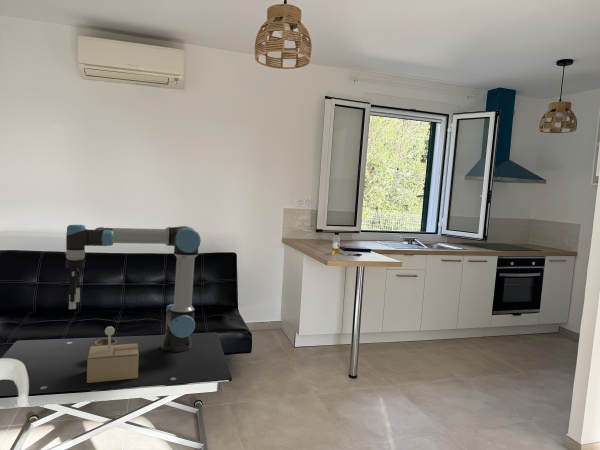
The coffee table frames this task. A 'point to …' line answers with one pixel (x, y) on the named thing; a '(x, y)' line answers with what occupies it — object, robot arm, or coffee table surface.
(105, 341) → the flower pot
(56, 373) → the coffee table surface
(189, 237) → the robot arm
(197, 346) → the coffee table surface
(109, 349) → the flap
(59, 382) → the coffee table surface
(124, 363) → the carton
